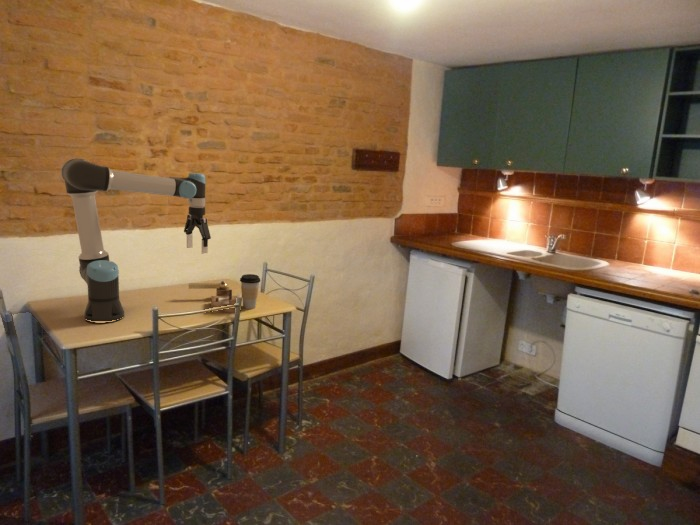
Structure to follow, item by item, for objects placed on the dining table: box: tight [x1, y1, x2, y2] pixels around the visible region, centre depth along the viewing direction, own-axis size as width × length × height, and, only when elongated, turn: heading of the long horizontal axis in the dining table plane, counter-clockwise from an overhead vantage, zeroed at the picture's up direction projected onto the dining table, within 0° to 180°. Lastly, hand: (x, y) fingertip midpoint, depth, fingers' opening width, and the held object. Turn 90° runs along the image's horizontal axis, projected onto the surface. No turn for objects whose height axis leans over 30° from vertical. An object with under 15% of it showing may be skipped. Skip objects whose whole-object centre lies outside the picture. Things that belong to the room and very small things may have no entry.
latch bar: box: [188, 280, 228, 290], centre depth 247 cm, size 18×4×3 cm, turn 106°
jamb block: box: [215, 286, 230, 296], centre depth 250 cm, size 6×6×5 cm
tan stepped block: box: [210, 289, 238, 314], centre depth 236 cm, size 12×14×8 cm
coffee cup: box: [239, 273, 261, 310], centre depth 239 cm, size 9×9×15 cm
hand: (196, 250), depth 245 cm, fingers open, 13 cm apart
